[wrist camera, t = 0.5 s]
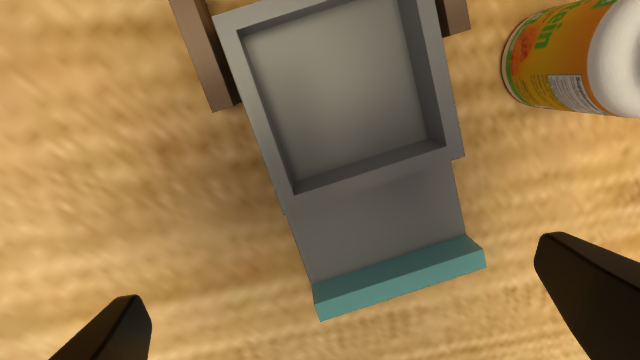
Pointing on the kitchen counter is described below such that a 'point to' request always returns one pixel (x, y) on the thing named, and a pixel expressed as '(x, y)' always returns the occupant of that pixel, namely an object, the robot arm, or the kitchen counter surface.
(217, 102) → the dock
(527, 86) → the supplement bottle
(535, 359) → the kitchen counter surface
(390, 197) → the tray
